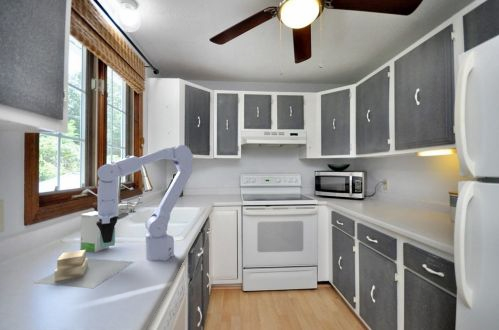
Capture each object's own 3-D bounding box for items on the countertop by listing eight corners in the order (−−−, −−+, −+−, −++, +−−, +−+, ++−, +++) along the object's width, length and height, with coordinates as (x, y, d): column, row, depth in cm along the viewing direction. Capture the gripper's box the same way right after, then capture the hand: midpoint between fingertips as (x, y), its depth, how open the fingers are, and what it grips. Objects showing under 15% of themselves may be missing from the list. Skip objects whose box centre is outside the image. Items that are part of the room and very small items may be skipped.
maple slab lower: (87, 266, 75) (87, 257, 75) (83, 275, 69) (83, 265, 69) (61, 271, 72) (61, 262, 72) (54, 281, 65) (54, 271, 65)
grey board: (134, 264, 78) (134, 261, 78) (93, 291, 61) (93, 288, 61) (85, 261, 81) (85, 258, 81) (33, 286, 65) (33, 282, 65)
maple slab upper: (85, 258, 74) (85, 249, 74) (82, 265, 69) (81, 256, 69) (62, 262, 71) (62, 253, 71) (57, 270, 66) (57, 260, 66)
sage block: (115, 241, 77) (115, 227, 77) (114, 245, 74) (114, 230, 74) (101, 243, 75) (101, 229, 75) (100, 247, 72) (99, 232, 72)
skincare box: (79, 252, 89) (79, 214, 89) (94, 246, 96) (94, 211, 96) (96, 254, 87) (96, 215, 87) (110, 248, 94) (110, 211, 94)
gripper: (96, 198, 79) (96, 236, 79) (89, 204, 66) (90, 249, 66) (119, 196, 82) (119, 233, 82) (117, 202, 70) (117, 245, 70)
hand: (108, 240), depth 75 cm, fingers closed on sage block, 4 cm apart
